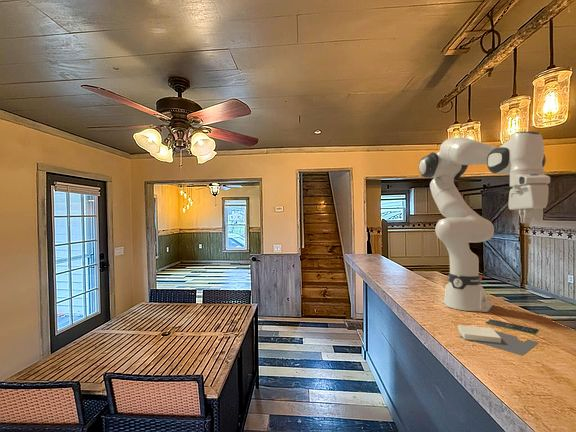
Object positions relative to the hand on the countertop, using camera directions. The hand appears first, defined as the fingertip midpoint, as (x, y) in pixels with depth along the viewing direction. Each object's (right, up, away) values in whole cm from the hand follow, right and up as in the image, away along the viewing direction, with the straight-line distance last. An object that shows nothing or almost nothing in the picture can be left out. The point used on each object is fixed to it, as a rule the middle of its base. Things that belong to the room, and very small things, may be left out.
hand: (525, 223), depth 104 cm
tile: (-11, -36, -2) cm, 37 cm away
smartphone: (+2, -38, +10) cm, 39 cm away
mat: (-11, -37, -3) cm, 39 cm away
